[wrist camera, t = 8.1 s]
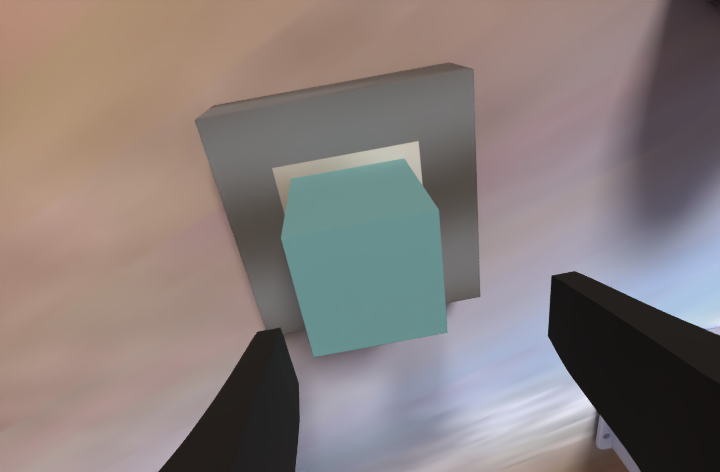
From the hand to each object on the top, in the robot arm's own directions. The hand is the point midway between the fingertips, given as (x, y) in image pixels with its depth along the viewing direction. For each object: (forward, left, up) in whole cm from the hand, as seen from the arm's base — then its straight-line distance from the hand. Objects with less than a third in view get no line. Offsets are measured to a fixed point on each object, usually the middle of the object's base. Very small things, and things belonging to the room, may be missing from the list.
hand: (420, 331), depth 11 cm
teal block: (0, +1, -7) cm, 7 cm away
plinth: (0, +1, -10) cm, 10 cm away
